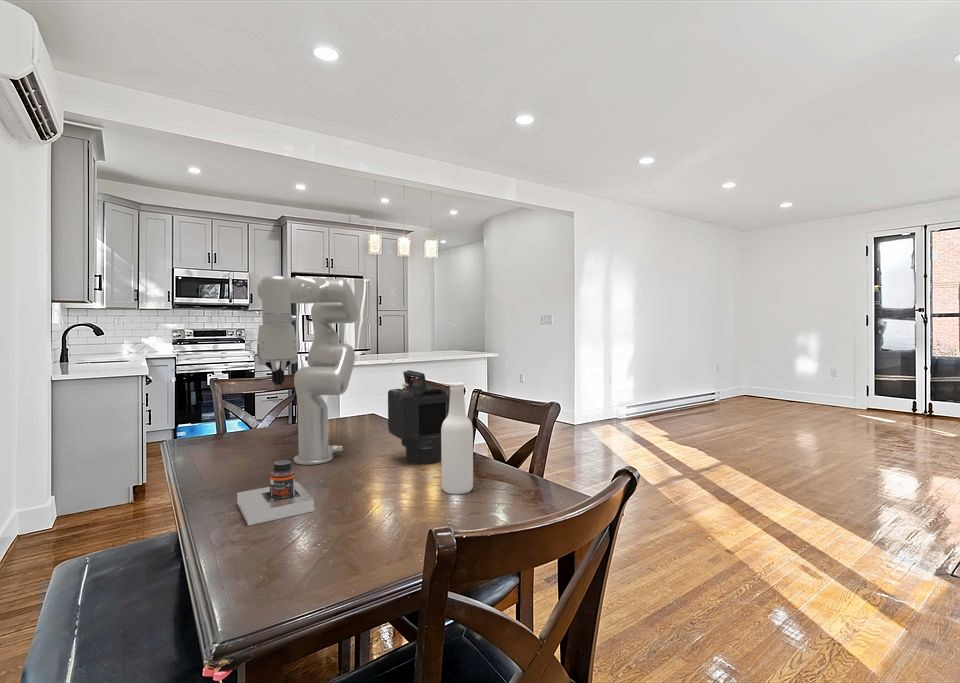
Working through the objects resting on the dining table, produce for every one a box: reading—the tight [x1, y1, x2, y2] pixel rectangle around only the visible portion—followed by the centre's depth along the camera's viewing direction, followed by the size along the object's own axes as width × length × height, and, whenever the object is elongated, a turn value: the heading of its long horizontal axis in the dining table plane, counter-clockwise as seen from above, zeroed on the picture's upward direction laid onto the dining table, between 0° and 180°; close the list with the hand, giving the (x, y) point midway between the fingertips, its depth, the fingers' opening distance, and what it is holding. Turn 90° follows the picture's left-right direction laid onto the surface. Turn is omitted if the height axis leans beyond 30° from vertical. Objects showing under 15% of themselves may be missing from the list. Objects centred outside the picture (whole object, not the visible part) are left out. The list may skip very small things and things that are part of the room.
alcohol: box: [440, 381, 474, 496], centre depth 137 cm, size 9×9×30 cm
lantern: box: [387, 369, 450, 465], centre depth 166 cm, size 15×18×30 cm
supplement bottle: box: [269, 459, 296, 502], centre depth 126 cm, size 6×6×11 cm
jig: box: [236, 481, 315, 526], centre depth 125 cm, size 15×16×3 cm
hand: (278, 384), depth 140 cm, fingers closed
